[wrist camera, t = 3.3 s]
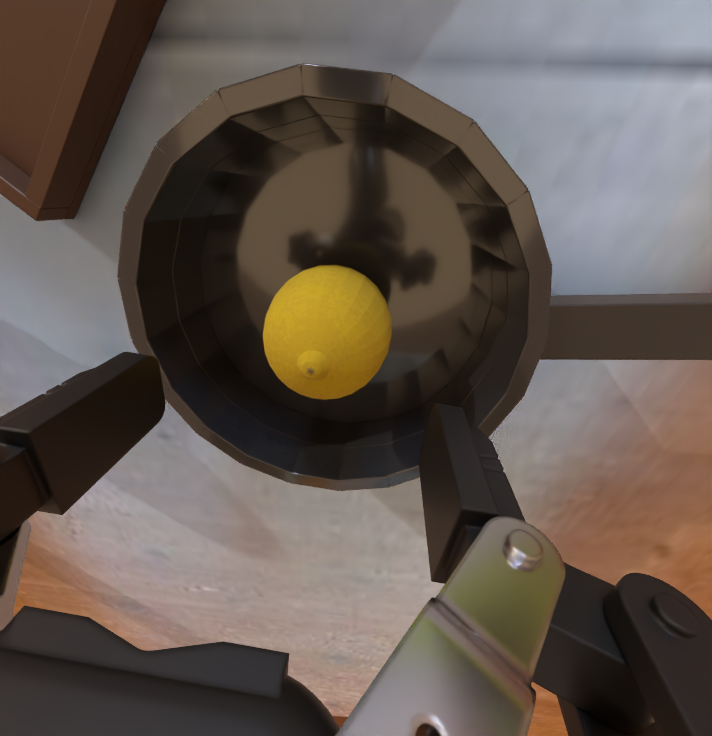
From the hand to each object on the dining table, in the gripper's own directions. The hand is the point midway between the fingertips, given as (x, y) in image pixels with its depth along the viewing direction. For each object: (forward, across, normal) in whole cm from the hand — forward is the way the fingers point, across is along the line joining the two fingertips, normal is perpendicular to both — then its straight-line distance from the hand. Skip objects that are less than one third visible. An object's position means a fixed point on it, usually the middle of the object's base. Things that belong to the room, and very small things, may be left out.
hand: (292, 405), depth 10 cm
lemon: (+10, 0, 0) cm, 10 cm away
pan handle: (+7, -14, -3) cm, 16 cm away
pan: (+10, 0, 0) cm, 10 cm away
